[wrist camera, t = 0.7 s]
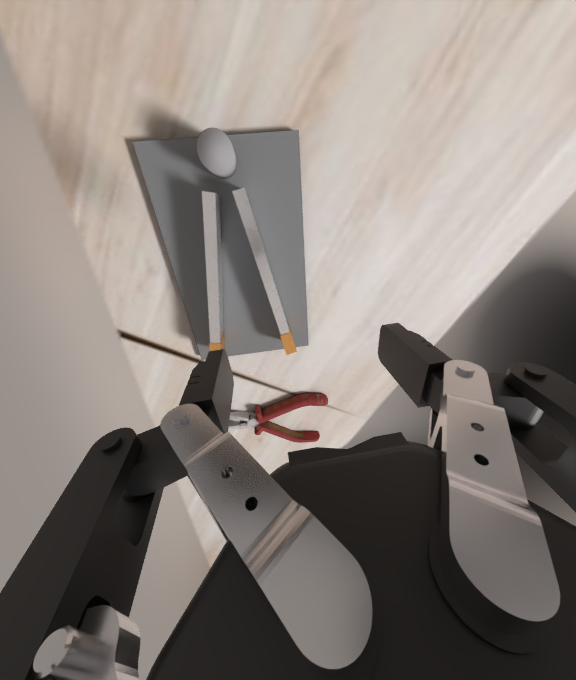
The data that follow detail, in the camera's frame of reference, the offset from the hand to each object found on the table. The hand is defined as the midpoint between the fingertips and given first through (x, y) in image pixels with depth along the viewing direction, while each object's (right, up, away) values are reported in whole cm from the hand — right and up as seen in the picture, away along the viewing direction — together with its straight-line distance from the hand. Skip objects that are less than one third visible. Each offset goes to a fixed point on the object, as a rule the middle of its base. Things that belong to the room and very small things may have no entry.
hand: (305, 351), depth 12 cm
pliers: (-3, -12, +31) cm, 33 cm away
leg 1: (-10, +8, +17) cm, 21 cm away
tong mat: (-7, +10, +18) cm, 21 cm away
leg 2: (-3, +9, +18) cm, 20 cm away
